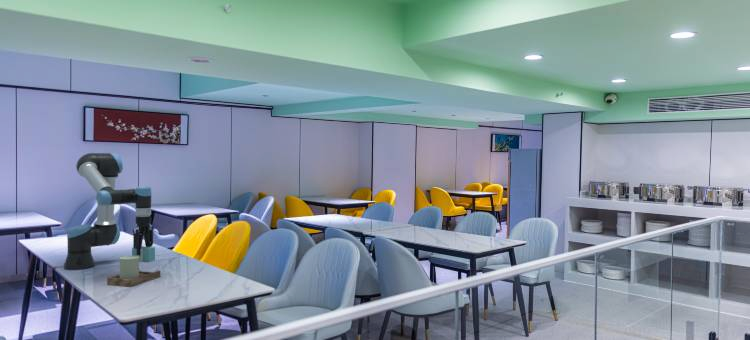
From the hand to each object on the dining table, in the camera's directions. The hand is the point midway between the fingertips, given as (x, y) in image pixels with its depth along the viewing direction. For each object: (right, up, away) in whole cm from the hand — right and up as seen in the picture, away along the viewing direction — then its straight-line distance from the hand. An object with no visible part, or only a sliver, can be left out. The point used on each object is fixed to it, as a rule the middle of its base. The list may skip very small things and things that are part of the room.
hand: (143, 260), depth 275 cm
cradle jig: (-2, -9, -6) cm, 11 cm away
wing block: (0, 0, 0) cm, 0 cm away
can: (-3, -9, -10) cm, 13 cm away
